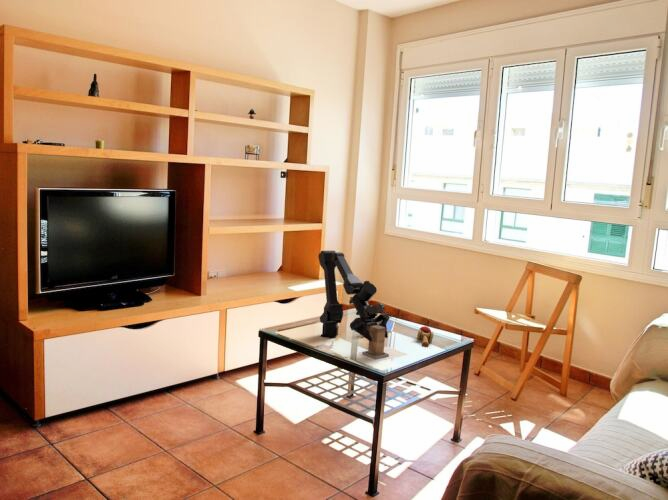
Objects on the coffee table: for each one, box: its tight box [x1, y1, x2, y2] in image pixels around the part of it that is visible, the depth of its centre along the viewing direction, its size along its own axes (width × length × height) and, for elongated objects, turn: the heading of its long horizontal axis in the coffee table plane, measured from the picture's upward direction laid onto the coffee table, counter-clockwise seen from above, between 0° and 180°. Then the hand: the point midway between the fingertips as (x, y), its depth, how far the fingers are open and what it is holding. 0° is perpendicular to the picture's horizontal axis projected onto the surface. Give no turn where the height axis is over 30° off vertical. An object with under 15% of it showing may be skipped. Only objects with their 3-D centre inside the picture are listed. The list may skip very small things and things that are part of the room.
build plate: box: [355, 346, 408, 363], centre depth 238 cm, size 12×19×2 cm, turn 132°
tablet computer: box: [386, 320, 396, 333], centre depth 286 cm, size 19×13×1 cm, turn 169°
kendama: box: [416, 325, 434, 348], centre depth 263 cm, size 8×6×18 cm
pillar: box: [367, 325, 386, 356], centre depth 235 cm, size 4×4×12 cm
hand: (379, 339), depth 234 cm, fingers open, 9 cm apart
